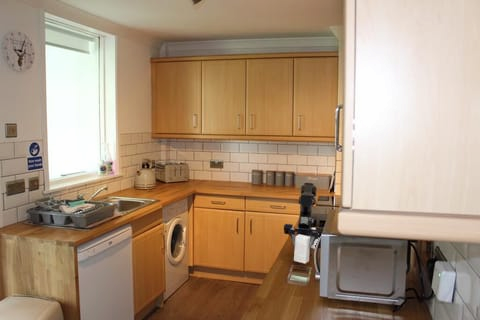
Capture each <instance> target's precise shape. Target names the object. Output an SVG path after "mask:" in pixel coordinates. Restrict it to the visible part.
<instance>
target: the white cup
mask: <svg viewBox="0 0 480 320" xmlns="http://www.w3.org/2000/svg"><path fill="white" fill-rule="evenodd" d="M311 228H312V229H313V230H316V227H311ZM318 239H319V238H318ZM318 239H316V240H315V241H314V244H313V245H312V246H311V248H310V249H313V250H316V249H315V245H316V243H317V241H318Z"/></svg>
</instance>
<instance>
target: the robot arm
mask: <svg viewBox="0 0 480 320" xmlns="http://www.w3.org/2000/svg"><path fill="white" fill-rule="evenodd" d="M298 197H299V198H298V204H299V209H300V210H299V218H298V221H297V227H295V226H293V224H291V223H284V225H283V234H285V235H288V236H289V237H290V239H291V240H292V245H293V247H294V248H295V237H296V236H297V235H299V234H300V235H305V236H309V237H311V238H310V247H309V249H310V250H311V249H312V248H311V246H312V245H313V244H314V241H315V240H316V239H318V238H320V236H321V233H322V231H323V229H324V230H325V228H324V227H319V226H316V227H315V228H316V230H313V229H312V228H313V227H311V225H312V224H314V223H315V222H314V221H315V216H313V207H314V206H315V205H317V202H316V201H317V200H316V198H315V197H317V187H316V186H315V185H314V183H312V182H304V183H303V184H302V185H301V187H300V196H298ZM310 256H313V254H312V253H311V251H310V252H309V257H310Z"/></svg>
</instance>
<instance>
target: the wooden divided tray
mask: <svg viewBox="0 0 480 320" xmlns="http://www.w3.org/2000/svg"><path fill="white" fill-rule="evenodd" d="M294 270H299V271H300V270H301V271H306V272H307V271H308V273H301V272H297V271H296V272H295V271H294ZM312 270H313V267H311V266H305V265H297V264H291V265H290V269H289V272H288V275H287V277H286V284H289V285H296V286H301V287H309V283H310V281H311V280H310V279H311V275H312V272H313V271H312ZM311 271H312V272H311Z"/></svg>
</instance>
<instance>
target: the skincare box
mask: <svg viewBox="0 0 480 320" xmlns="http://www.w3.org/2000/svg"><path fill="white" fill-rule="evenodd" d="M310 238H311V237H309V236H305V235H300V234H299V235H297V234H296V235H295V247H294V254H293V255H294V256H293V261H294V262H296V263H297V262H298V263H301V264H304V265H305V264H307V263H309V261H310V256H309V252H310V253H311V248H310V249H309V247H310Z"/></svg>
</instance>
